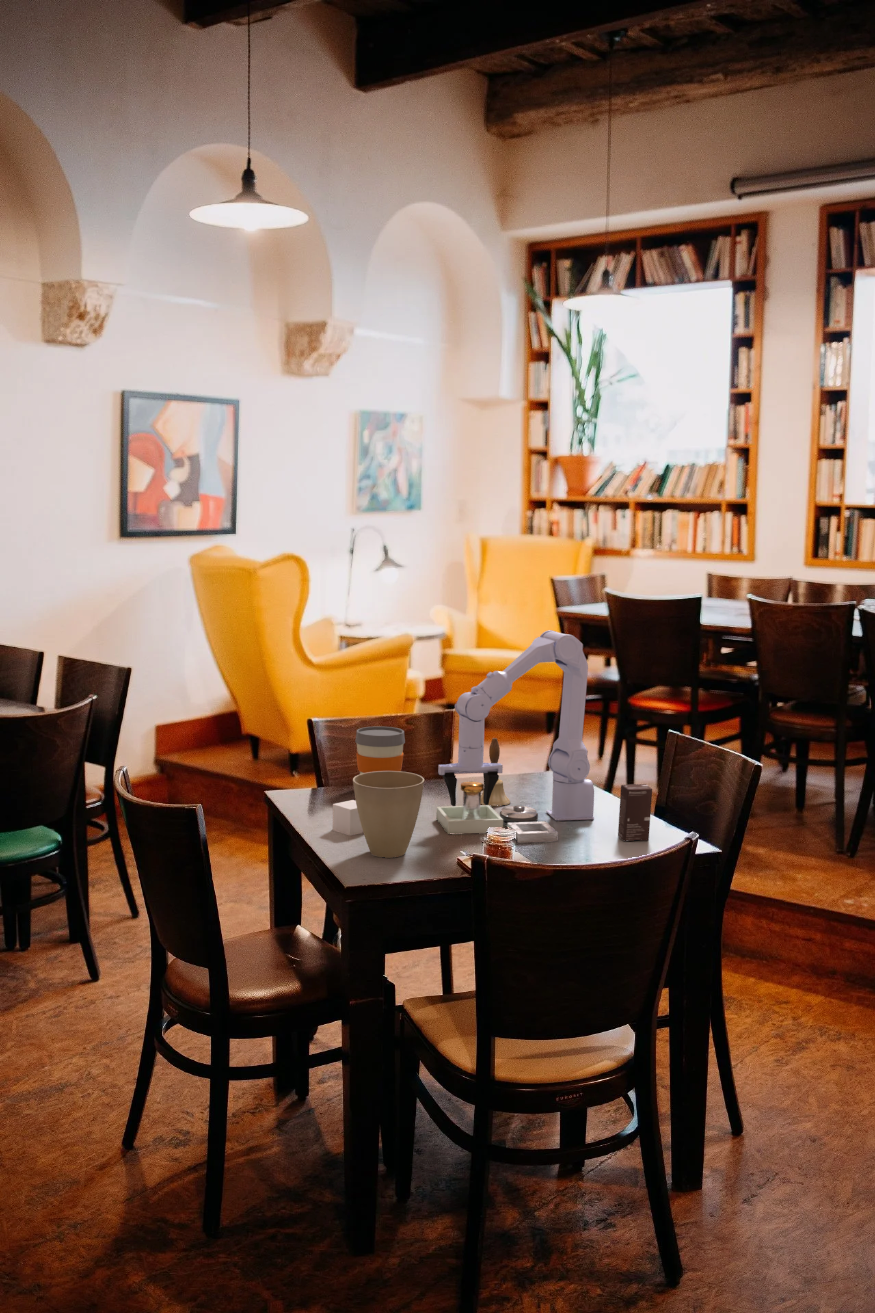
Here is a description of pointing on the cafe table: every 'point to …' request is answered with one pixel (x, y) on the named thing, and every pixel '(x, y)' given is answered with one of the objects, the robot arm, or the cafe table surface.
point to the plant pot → (388, 809)
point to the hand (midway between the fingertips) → (469, 804)
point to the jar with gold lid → (471, 800)
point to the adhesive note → (346, 818)
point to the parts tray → (455, 824)
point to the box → (634, 812)
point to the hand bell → (498, 790)
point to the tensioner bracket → (527, 825)
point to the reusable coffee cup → (379, 749)
